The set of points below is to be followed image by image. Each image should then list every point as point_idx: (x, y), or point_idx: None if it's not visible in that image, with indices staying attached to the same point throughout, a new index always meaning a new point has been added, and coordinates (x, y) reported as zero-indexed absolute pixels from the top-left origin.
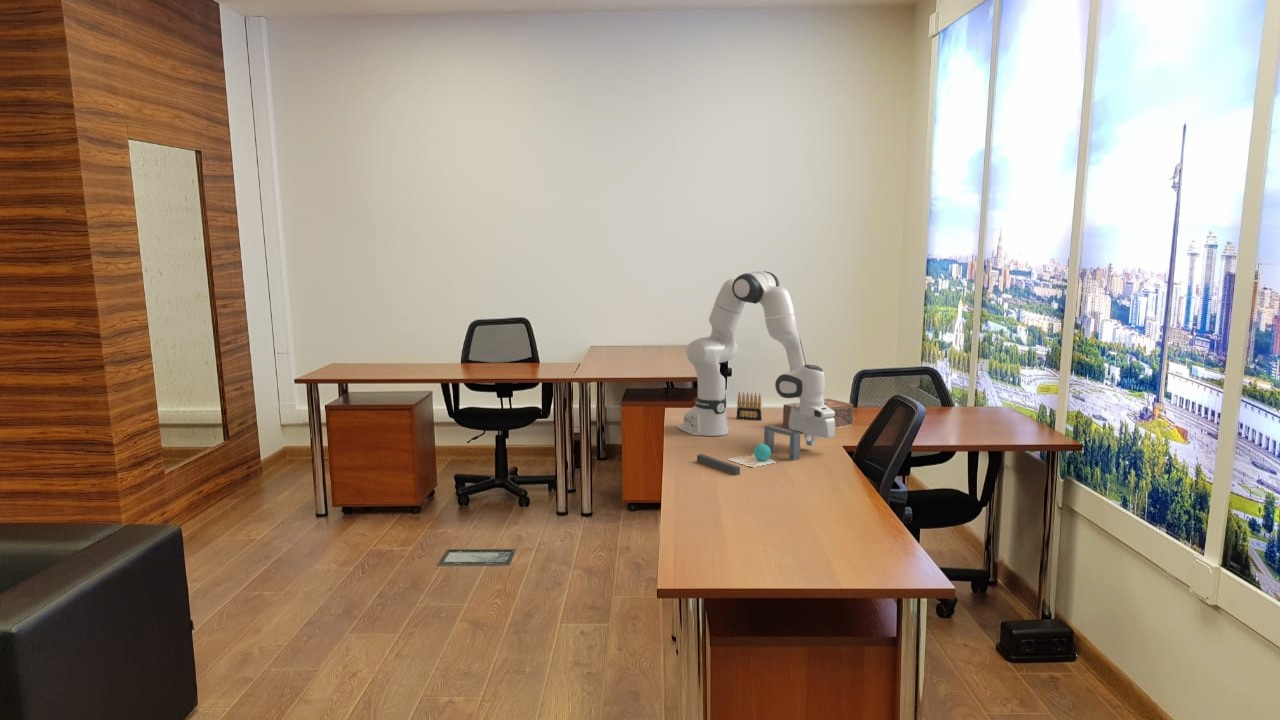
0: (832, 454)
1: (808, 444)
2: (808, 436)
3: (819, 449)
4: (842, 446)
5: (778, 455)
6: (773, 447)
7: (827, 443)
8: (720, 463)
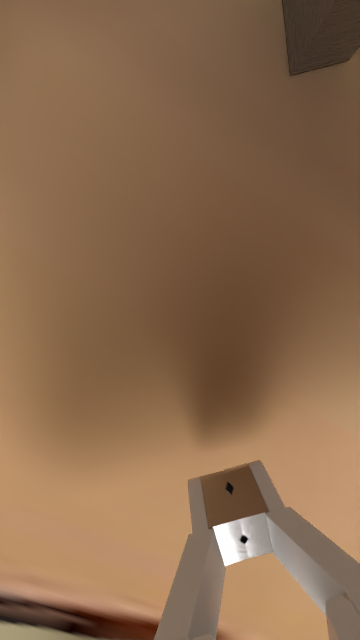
0: (44, 522)
1: (230, 474)
2: (324, 603)
3: None
4: None
5: (123, 24)
6: (329, 3)
7: None
8: None
